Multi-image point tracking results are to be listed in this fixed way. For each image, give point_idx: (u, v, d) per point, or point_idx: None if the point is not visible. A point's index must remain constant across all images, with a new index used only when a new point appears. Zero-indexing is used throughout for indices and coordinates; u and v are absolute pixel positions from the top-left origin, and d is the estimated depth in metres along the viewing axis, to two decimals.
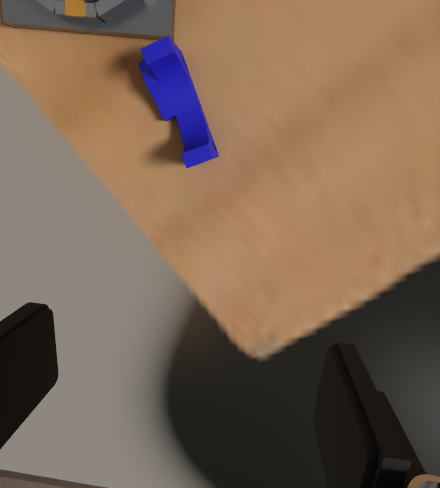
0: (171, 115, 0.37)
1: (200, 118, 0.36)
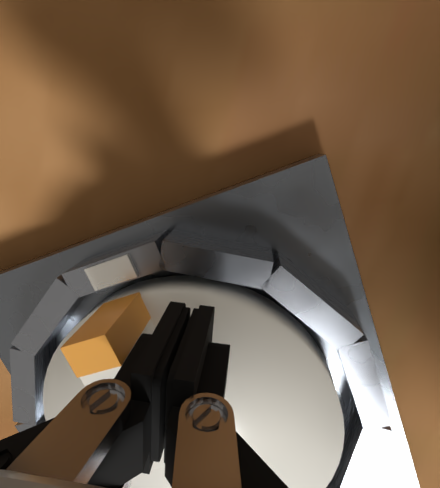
0: None
1: None
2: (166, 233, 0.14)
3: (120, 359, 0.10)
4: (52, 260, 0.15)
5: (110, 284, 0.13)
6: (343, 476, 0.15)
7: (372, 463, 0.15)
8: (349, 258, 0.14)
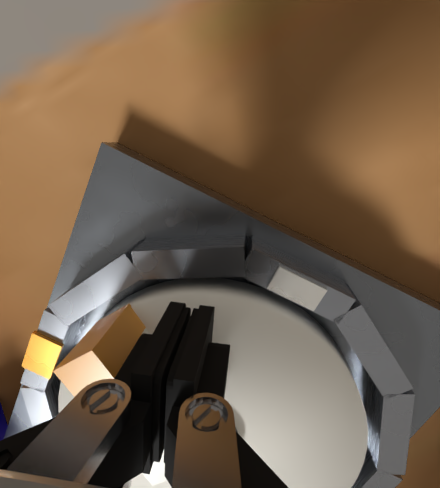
0: None
1: None
2: (343, 284, 0.14)
3: (113, 372, 0.10)
4: (225, 210, 0.13)
5: (285, 296, 0.12)
6: None
7: None
8: (430, 410, 0.15)
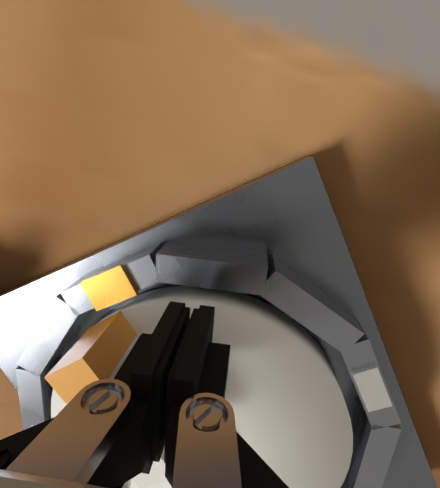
0: None
1: None
2: None
3: None
4: (354, 284, 0.14)
5: (360, 388, 0.13)
6: None
7: None
8: None
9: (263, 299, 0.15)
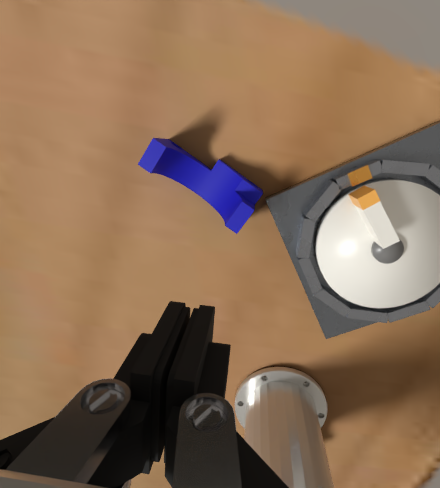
0: (213, 168, 0.35)
1: (187, 183, 0.36)
2: None
3: (379, 199, 0.29)
4: None
5: None
6: (359, 309, 0.36)
7: (369, 318, 0.36)
8: None
9: None
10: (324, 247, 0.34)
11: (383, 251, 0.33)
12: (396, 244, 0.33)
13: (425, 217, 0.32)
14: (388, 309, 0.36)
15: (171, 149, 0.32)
